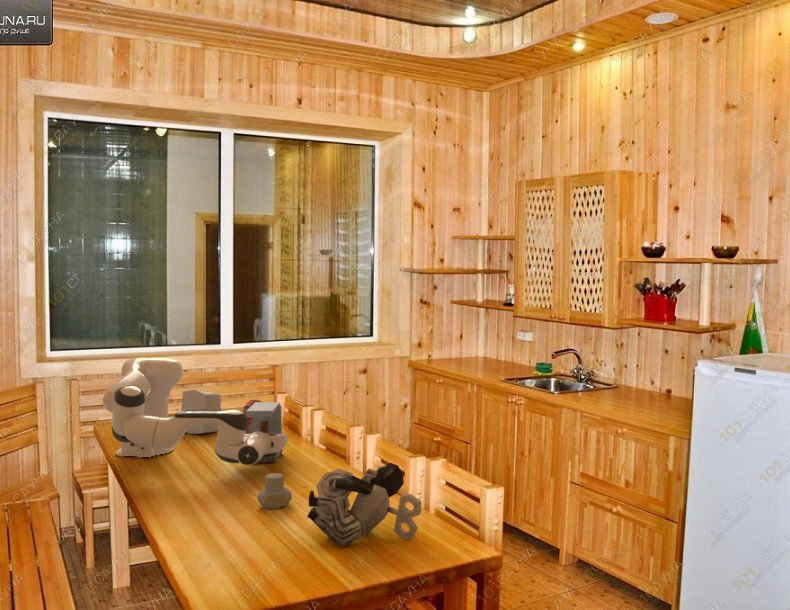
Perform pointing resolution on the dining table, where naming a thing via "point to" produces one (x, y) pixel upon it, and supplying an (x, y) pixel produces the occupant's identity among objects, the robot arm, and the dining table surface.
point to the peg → (264, 426)
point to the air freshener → (274, 492)
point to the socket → (270, 457)
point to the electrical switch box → (201, 408)
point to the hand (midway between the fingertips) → (264, 434)
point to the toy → (361, 504)
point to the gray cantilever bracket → (267, 416)
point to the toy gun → (251, 420)
